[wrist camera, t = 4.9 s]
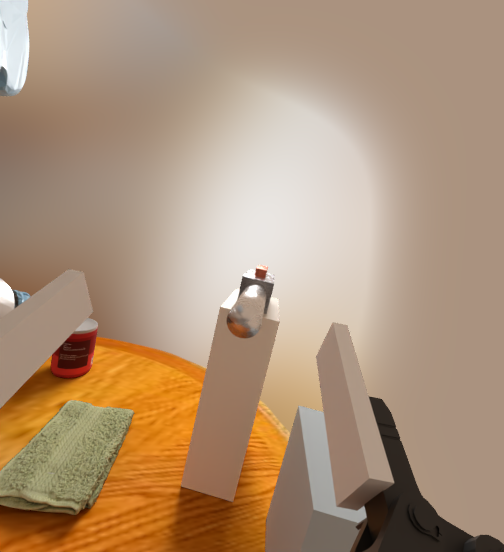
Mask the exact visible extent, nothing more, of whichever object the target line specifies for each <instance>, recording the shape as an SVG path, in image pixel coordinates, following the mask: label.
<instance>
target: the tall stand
mask: <svg viewBox="0 0 504 552" xmlns="http://www.w3.org/2000/svg"><path fill="white" fill-rule="evenodd" d="M239 290H240V289H236V290H235V291H234V292H233V293H232V294H231V295H230V296H229V298H228V299H227V300H226V301H225V302H224V303H223V304H222V305H221V307H220V310H219V315H218V319H217V324H216V329H215V333H214V338H213V342H212V347H211V351H210V356H209V360H208V365H207V369H206V374H205V378H204V383H203V388H202V392H201V397H200V401H199V406H198V410H197V415H196V419H195V424H194V428H193V433H192V437H191V442H190V447H189V451H188V456H187V460H186V465H185V469H184V474H183V478H182V483H181V487H185V488H188V489H191V490H194V491H198V492H201V493H204V494H208V495H211V496H214V497H218V498H221V499H224V500H228V501H231V502H233V500H234V497H235V493H236V489H237V485H238V481H239V477H240V473H241V469H242V465H243V462H244V458H245V454H246V450H247V446H248V442H249V438H250V434H251V431H252V427H253V423H254V419H255V415H256V411H257V407H258V403H259V399H260V396H261V392H262V388H263V383H264V380H265V376H266V372H267V368H268V364H269V361H270V357H271V352H272V349H273V345H274V341H275V337H276V333H277V330H278V326H279V306H278V305H279V304H278V299H276V298H273V297H271V298H270V302H269V306H268V310H267V314H264V313H263V319H262V324H261V328H260V330H259V332H258V333H257V334H256V335H254V336H253V337H251V338H245V339H244V338H239V337H236V336H235V335H233V334H232V333H231V332H230V330H229V329H228V326H227V315H228V313H229V311H230V310H231V308H232V307H233V305H234V304H235V303H236V301H237V299H238V295H239Z"/></svg>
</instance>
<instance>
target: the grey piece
mask: <svg viewBox="0 0 504 552" xmlns="http://www.w3.org/2000/svg"><path fill="white" fill-rule="evenodd" d="M267 269H268V267H266V266H262V265H258V267H257V268H256V270H252V269H250V270H249V271H247V272H246V273H245V274H244V275H243V278H242V282H241V286H240V290H239V295H238V299H237V301H236V303H235V304H234V305H233V307H232V308H231V310H230V311H229V313H228V315H227V326H228V329H229V330H230V332H231V333H232V334H233V335H235V336H236V337H239V338H244V339H245V338H251V337H253V336H254V335H256V334H257V333H258V332H259V330H260V328H261V324H262V319H263V313H264V314H267V310H268V306H269V302H270V298H271V294H272V290H273V286H274V275H273V274H268V273H267Z"/></svg>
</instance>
